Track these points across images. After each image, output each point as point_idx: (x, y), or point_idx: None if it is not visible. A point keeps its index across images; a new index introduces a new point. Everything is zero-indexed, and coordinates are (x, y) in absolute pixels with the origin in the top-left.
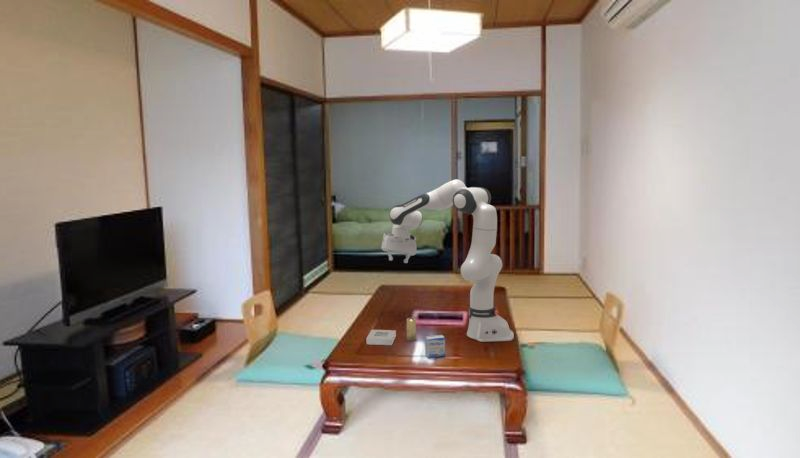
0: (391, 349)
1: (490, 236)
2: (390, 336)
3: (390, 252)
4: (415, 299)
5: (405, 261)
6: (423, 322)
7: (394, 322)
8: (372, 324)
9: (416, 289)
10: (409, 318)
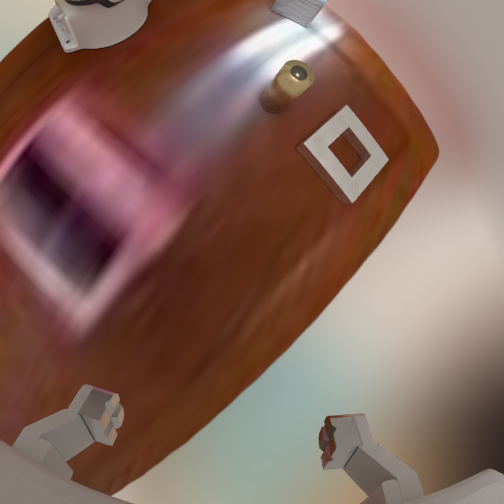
0: (349, 95)
1: None
2: (340, 120)
3: (403, 483)
4: (38, 410)
5: (112, 400)
6: (137, 193)
7: (219, 261)
8: (288, 290)
9: None
10: (301, 79)
